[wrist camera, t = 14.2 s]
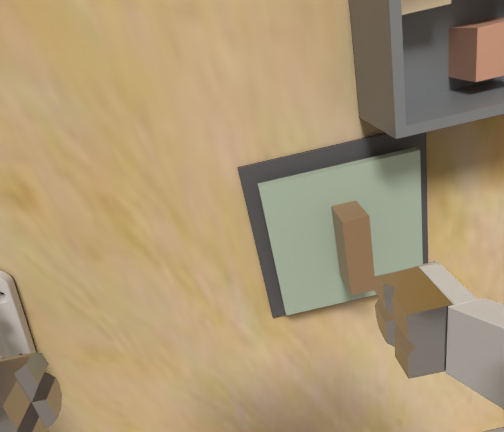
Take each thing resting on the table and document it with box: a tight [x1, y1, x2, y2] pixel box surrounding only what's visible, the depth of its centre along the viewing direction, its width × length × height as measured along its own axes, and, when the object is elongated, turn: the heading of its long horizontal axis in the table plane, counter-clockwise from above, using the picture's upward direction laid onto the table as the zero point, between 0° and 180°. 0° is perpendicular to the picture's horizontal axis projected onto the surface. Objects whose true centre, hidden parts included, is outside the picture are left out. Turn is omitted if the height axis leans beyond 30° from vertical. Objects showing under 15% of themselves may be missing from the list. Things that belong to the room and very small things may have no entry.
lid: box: [258, 147, 423, 316], centre depth 39 cm, size 15×15×6 cm
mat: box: [238, 132, 428, 317], centre depth 41 cm, size 18×18×1 cm
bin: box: [349, 0, 504, 139], centre depth 30 cm, size 14×14×8 cm
